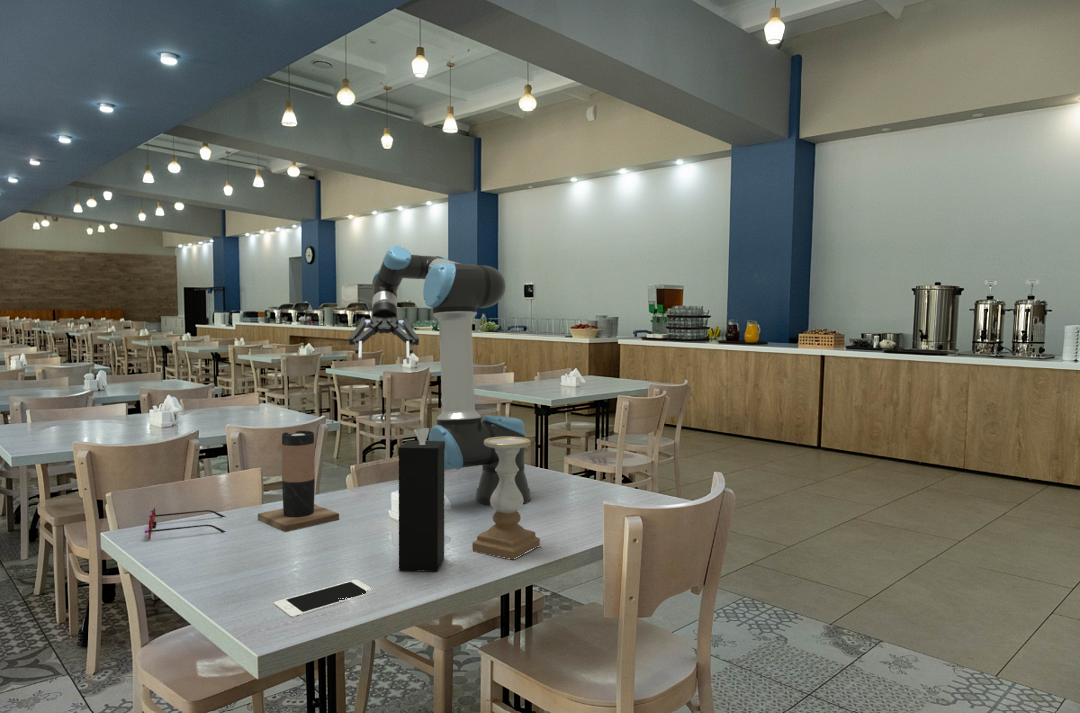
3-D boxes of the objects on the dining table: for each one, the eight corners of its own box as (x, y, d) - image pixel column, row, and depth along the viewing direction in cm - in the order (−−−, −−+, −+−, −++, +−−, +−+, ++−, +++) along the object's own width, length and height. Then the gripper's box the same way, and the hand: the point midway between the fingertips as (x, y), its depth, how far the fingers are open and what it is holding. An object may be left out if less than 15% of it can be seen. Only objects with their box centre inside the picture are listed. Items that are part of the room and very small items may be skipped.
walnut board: (339, 519, 170) (339, 513, 170) (285, 531, 160) (285, 525, 160) (310, 508, 180) (310, 502, 180) (258, 519, 170) (258, 513, 170)
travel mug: (308, 518, 166) (307, 436, 165) (277, 517, 166) (276, 435, 165) (319, 509, 174) (318, 430, 173) (289, 508, 174) (288, 430, 173)
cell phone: (272, 605, 120) (272, 602, 120) (356, 582, 131) (356, 579, 131) (291, 620, 114) (291, 616, 114) (377, 594, 125) (377, 591, 125)
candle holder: (513, 560, 142) (513, 446, 141) (471, 550, 148) (471, 441, 147) (541, 546, 152) (542, 438, 151) (500, 537, 158) (501, 434, 156)
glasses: (150, 526, 165) (149, 505, 165) (225, 518, 172) (225, 498, 172) (144, 543, 152) (144, 521, 152) (226, 534, 159) (226, 513, 159)
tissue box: (407, 557, 144) (407, 424, 142) (444, 558, 143) (445, 425, 142) (398, 571, 136) (398, 430, 134) (437, 572, 135) (438, 431, 134)
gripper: (424, 318, 219) (427, 368, 205) (343, 317, 213) (340, 369, 200) (425, 301, 213) (428, 351, 199) (342, 299, 208) (338, 351, 194)
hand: (384, 360), depth 199 cm, fingers open, 13 cm apart
